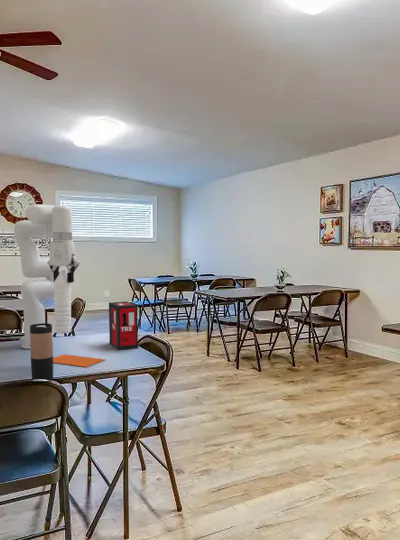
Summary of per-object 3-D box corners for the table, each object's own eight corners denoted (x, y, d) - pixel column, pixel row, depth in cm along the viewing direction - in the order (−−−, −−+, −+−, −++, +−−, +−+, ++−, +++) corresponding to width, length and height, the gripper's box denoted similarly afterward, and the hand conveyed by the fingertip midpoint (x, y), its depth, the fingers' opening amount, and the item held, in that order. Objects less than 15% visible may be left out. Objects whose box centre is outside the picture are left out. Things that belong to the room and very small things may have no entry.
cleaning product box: (109, 343, 228) (108, 302, 227) (127, 341, 232) (126, 301, 231) (119, 350, 213) (118, 306, 212) (137, 348, 217) (137, 305, 216)
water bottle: (56, 334, 184) (56, 271, 183) (52, 331, 190) (52, 270, 188) (78, 332, 188) (78, 270, 187) (74, 329, 194) (73, 269, 193)
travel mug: (34, 377, 171) (32, 323, 170) (55, 376, 172) (54, 323, 171) (28, 383, 164) (26, 327, 162) (51, 383, 164) (49, 326, 163)
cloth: (43, 361, 194) (43, 360, 194) (64, 355, 205) (64, 354, 205) (85, 367, 184) (85, 366, 184) (104, 360, 195) (104, 359, 195)
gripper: (39, 237, 187) (40, 282, 188) (73, 237, 180) (74, 283, 181) (52, 237, 194) (53, 280, 195) (85, 237, 186) (87, 282, 188)
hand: (63, 281), depth 188 cm, fingers closed on water bottle, 6 cm apart
